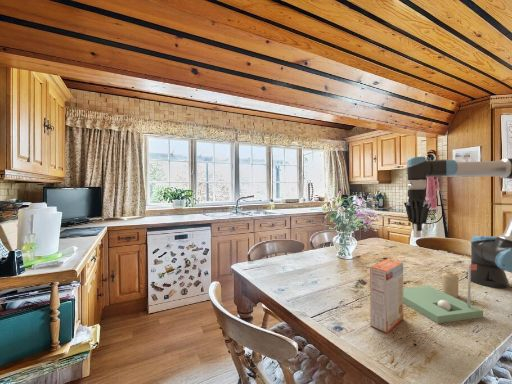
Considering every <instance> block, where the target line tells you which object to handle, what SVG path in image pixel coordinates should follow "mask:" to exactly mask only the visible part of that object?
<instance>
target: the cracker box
mask: <svg viewBox="0 0 512 384" xmlns="http://www.w3.org/2000/svg"><path fill="white" fill-rule="evenodd" d="M369 285H370V286H369V291H370V292H369V295H370V298H369V299H370V300H369V301H370V303H369V304H370V307H369V309H370V326H371V327H372V328H375V329H377V330H379V331H381V332H384V333H386V334H388V333H389V332H390V331H392V329H394V328H395V327H396V325H398V324H399V323H400V322H401V321H402V320H403V319H404V303H403V288H404V262H403V261H398V260H393V259H390V258H386V259H385V260H383V261H380V262H378V263H377V264H374V265H372V266H369Z"/></svg>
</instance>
